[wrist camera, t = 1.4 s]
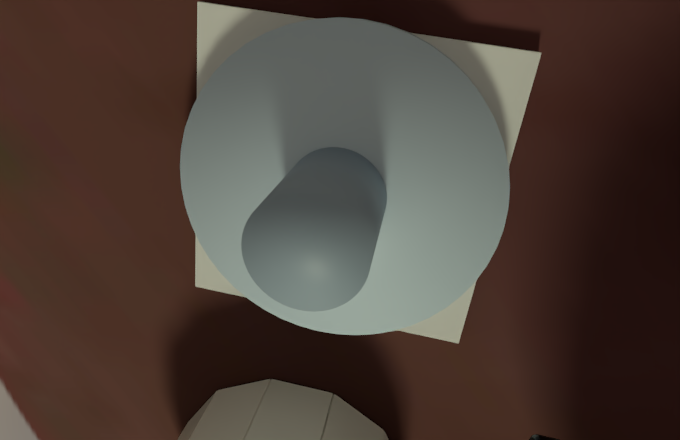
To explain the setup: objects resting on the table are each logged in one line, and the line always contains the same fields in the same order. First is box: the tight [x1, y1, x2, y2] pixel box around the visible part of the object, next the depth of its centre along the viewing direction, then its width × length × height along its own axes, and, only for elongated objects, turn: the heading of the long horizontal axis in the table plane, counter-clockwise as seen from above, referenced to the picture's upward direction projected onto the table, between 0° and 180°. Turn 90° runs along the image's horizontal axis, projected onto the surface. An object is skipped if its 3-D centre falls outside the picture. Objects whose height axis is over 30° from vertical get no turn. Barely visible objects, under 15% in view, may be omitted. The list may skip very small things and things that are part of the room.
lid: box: [180, 17, 510, 335], centre depth 14 cm, size 10×10×5 cm
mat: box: [195, 2, 541, 343], centre depth 16 cm, size 10×10×1 cm
